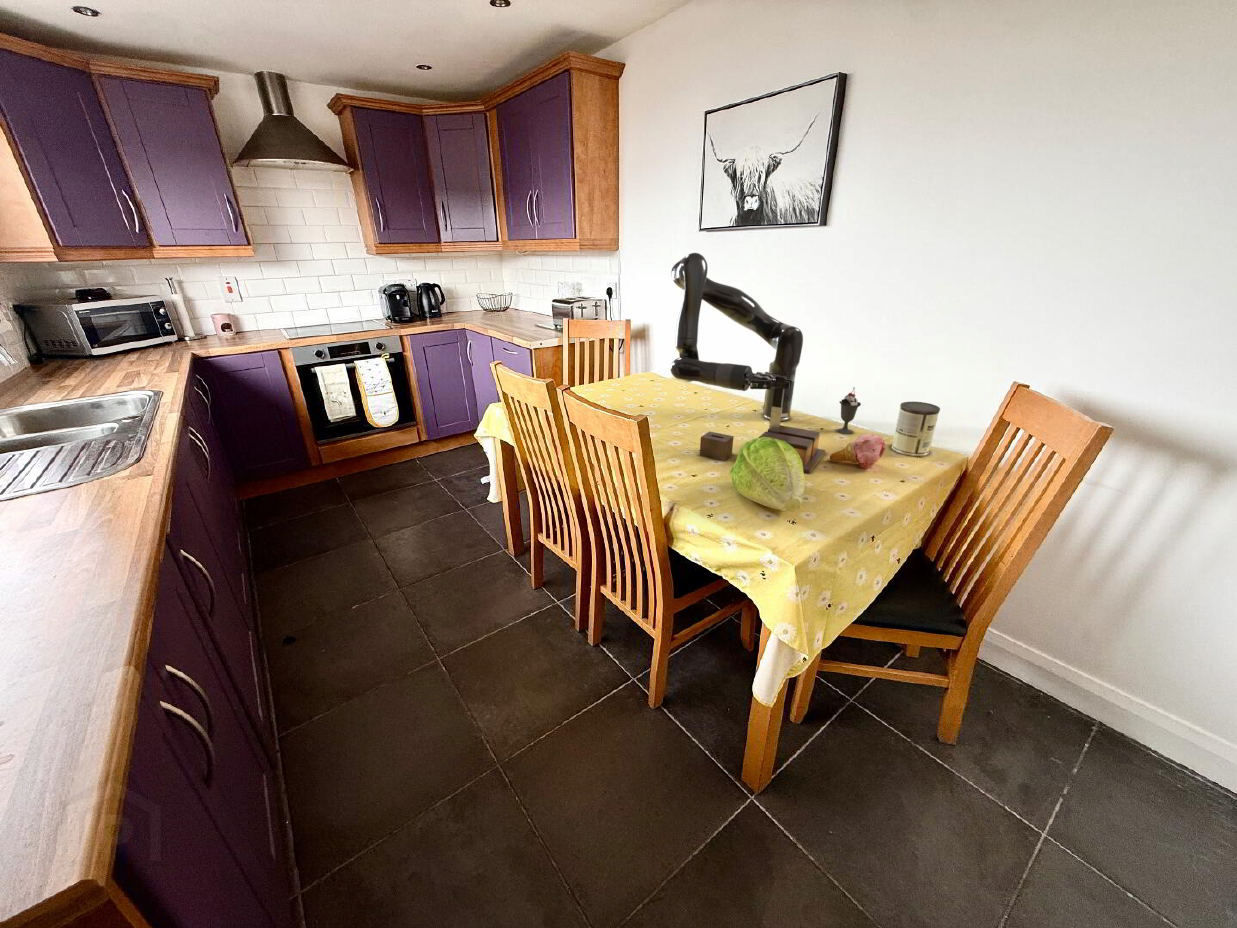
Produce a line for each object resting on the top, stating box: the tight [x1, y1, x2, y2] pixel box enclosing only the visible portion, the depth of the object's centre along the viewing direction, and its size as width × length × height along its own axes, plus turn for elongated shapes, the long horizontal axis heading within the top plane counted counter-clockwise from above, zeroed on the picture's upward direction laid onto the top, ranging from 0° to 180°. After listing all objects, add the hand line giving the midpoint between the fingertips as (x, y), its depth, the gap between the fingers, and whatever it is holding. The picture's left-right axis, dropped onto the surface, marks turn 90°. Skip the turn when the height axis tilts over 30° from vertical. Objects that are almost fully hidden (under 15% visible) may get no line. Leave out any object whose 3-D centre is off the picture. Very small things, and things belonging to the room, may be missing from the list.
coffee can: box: [891, 401, 941, 457], centre depth 151 cm, size 10×10×14 cm
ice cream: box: [829, 433, 886, 469], centre depth 143 cm, size 11×10×15 cm
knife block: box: [699, 431, 734, 462], centre depth 151 cm, size 8×6×6 cm
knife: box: [768, 375, 786, 433], centre depth 147 cm, size 3×2×17 cm, turn 56°
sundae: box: [836, 386, 862, 435], centre depth 167 cm, size 7×7×15 cm
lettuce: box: [729, 437, 807, 513], centre depth 122 cm, size 17×24×14 cm
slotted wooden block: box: [758, 424, 826, 474], centre depth 149 cm, size 18×18×7 cm
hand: (790, 384), depth 143 cm, fingers closed on knife, 1 cm apart
